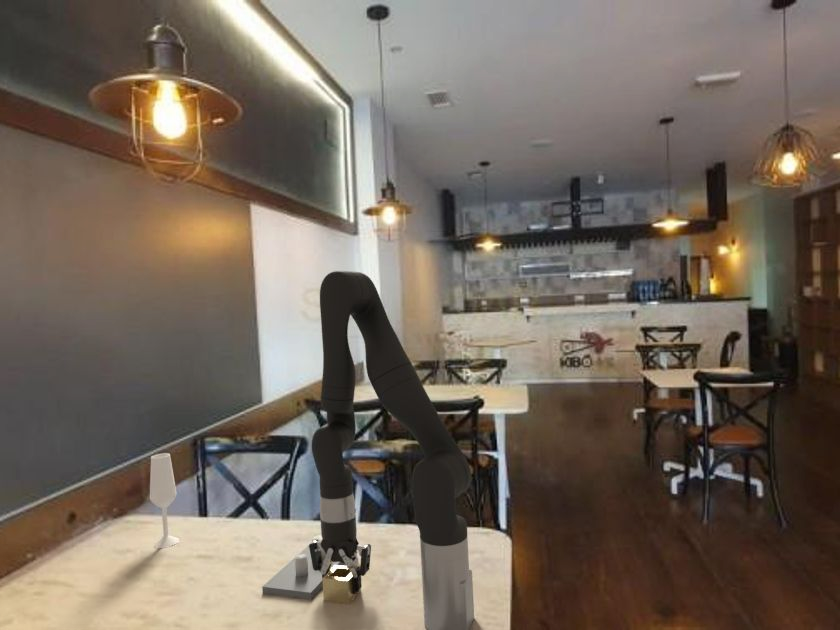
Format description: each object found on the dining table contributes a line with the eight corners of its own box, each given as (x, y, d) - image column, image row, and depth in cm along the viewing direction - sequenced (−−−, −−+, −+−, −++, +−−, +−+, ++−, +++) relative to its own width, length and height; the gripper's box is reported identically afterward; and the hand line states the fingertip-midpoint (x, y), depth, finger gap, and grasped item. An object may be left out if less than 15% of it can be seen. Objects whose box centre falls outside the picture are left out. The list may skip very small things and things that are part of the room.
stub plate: (356, 550, 146) (355, 528, 146) (311, 599, 123) (309, 574, 123) (314, 546, 150) (313, 525, 150) (262, 593, 127) (261, 568, 127)
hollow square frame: (360, 589, 126) (359, 567, 126) (349, 604, 121) (348, 581, 120) (336, 587, 128) (334, 565, 128) (323, 601, 122) (322, 578, 122)
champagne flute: (184, 537, 160) (178, 452, 159) (170, 548, 153) (164, 459, 152) (162, 537, 161) (156, 452, 160) (147, 547, 154) (141, 459, 153)
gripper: (299, 518, 122) (304, 596, 123) (361, 523, 118) (366, 603, 119) (316, 505, 129) (320, 578, 130) (375, 510, 125) (379, 585, 126)
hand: (342, 590), depth 124 cm, fingers closed on hollow square frame, 6 cm apart
